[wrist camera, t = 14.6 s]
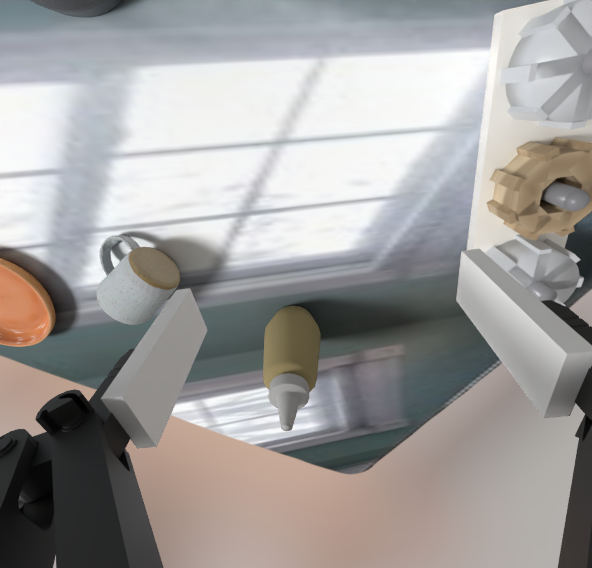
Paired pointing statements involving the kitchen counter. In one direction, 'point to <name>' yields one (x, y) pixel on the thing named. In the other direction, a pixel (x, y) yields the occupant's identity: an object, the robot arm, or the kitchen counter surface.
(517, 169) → the wooden gear
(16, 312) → the saucer
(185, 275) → the kitchen counter surface
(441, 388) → the kitchen counter surface
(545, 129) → the gear board
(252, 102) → the kitchen counter surface
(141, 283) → the ceramic mug
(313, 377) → the squeeze bottle
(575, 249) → the kitchen counter surface
